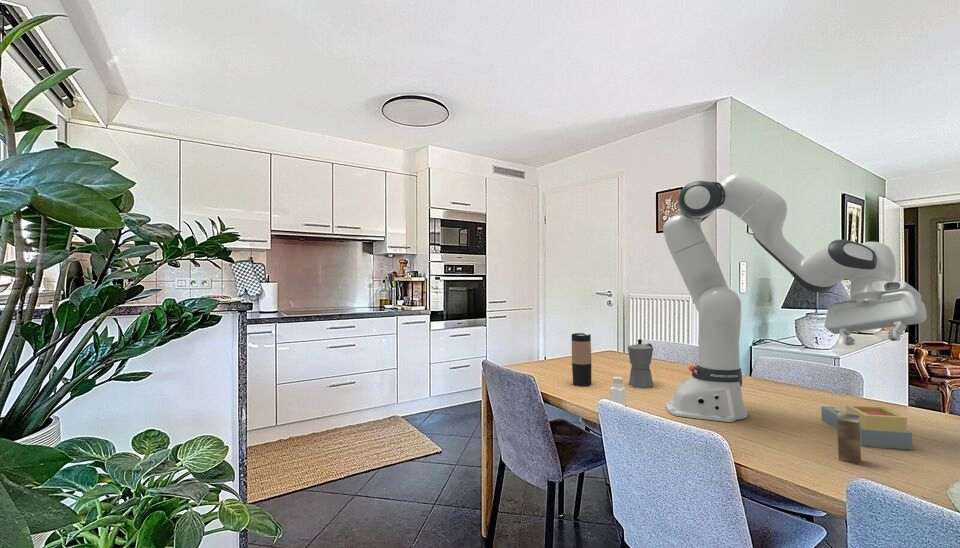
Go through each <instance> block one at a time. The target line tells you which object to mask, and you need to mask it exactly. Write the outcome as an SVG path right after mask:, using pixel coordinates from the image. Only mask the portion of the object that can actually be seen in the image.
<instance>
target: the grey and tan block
mask: <svg viewBox="0 0 960 548" xmlns="http://www.w3.org/2000/svg"><path fill="white" fill-rule="evenodd" d="M820 408H821V412H820V413H821V421H823V422H824V423H825V424H828V425H829V426H830V427H831V428H833V429H835V430H836V431H838V427H837V415H838V413H839V412H841V413H847V414H853V415H859V416H860V445H861V447H866V446H870V447H869V448H880V447H884V448H883V449H893V448H898V449H897V450H906V449H909V450H908V451H913V450H914V444H913V443H914V442H913V432H911V431H910V430H908V426H907V425H908V423H907V422H908V421H907V417H906V416H903V415H901V414H899V413H897V412H894V411H892V410H891V409H888V408H885V407H884V406H874V405H873V406H872V405H871V406H869V405H856V404H855V405H852V404H851V405H850V404H845V406H825V405H824V406H823V405H822V406H821V407H820ZM864 411H876V412H881V413H884V414H885V415H886V416H884V415H868V414H866V413H864Z"/></svg>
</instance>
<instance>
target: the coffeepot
mask: <svg viewBox="0 0 960 548" xmlns="http://www.w3.org/2000/svg"><path fill="white" fill-rule="evenodd" d="M642 342H643V340H642V339H641V338H640V339H637V344H631V345H628V346H627V350H628V357H629V362H630V363H629V364H631V369H630V375H629V381H628V385H629V386H630V385H632V386H634V387H633V388H637V387H642V388H641V389H649V388H648V387H650V388H652V386H653V387H654V382H653V381H654V380H653V376H652V372H651V371H652V370H651V368H650V366H651V363H652V358H653V351H654V347H653V345H652V344H651V343H646V344H645V343H644V344H642ZM632 386H631V387H632Z"/></svg>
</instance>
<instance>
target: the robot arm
mask: <svg viewBox="0 0 960 548" xmlns="http://www.w3.org/2000/svg"><path fill="white" fill-rule="evenodd" d="M677 197H678V198H677V202H678V203H677V204H678V209H679V210H678V213H676V215H674V216H673V215H672V216H671V217H670V218H669V219H667V220H666V222H665V223H664V224H663V227H662V231H663V236H664V239H665V243H666V246H667V247H668V251H669V252H670V254H671V257H672V259H673V261H674V263H675V265H676V267H677V269H678V271H679V273H680V275H681V277H682V280H683V282H684V285H685V286H686V288H687V291H688V292H689V295H690V297H691V300H692V302H693V304H694V306H695V308H696V310H697V312H698V337H697V338H698V339H697V342H698V343H697V344H698V349H697V350H698V364H697V365H696V366H695V365H694V364H689V365H688V367H687V368H688V370H689V372H691V377H690V378H689V379H686V380H685V381H684V382H682V383H681V384H679V385H677V387H676V388H675V389H674V391H673V396H672V400H668V401H667V402H666V403H665V409H666V411H667V412H668V413H669V414H671V415H673V416H676V417H683V418H689V419H690V418H692V419H699V420H707V421H717V422H724V423H733V422H735V421H736V420H742V419H745V418H747V417H748V415H749V414H748V412H747V410H746V405H745V402H744V398H743V392H742V387H743V372H742V368H741V366H740V365H741V364H740V335H741V325H742V324H741V322H742V321H741V320H742V302H741V299H740V297H739V295H738V294H737V293H736V291H734V290H732V289H730V288H729V286H728V284H727V281H726V279H725V277H724V274H723V271H722V269H721V267H720V263H719V261H718V259H717V257H716V256H715V253H714V252H713V251H714V250H713V249H712V247H711V245H710V243H709V242H708V240H707V238H706V236H705V234H704V232H703V228H702V226H701V224H702V222H703V221H705V220H706V219H708V218H709V217H710V216H711V215H712V214H713V213H714V211H716V210H720V209H721V210H726V211H728V212H729V213H731V214H733V215H735V217H737V218H738V219H740V220H741V221H743V222H744V223H745V224H746V225H747V226H748V227H749V229H750V230H751V232H752V236H753V239H755V241H756V242H757V244H758V245H760V247H761V248H762V249H764V250H765V251H766V252H767V253H768V254H769V255H770V256H771V257H772V258H773V259H774V260H776V261H777V262H778V263H779V264H780V265H781V266H782V267H783V268H785V270H786V271H787V272H789V274H790V275H791V276H792V277H793V278H794V280H795V282H797V284H798V285H799V286H800V287H801V288H803V289H805V290H807V291H810V292H812V293H817V294H818V293H819V294H820V293H821V294H822V293H826V292H828V291H830V290H831V289H833V288H834V287H835V286H836V285H838V283H840V282H842V281H844V280H848V281H849V282H850V289H849V290H850V294H849V300H844V301H841V302H840V301H839V302H835V303H833V304H832V305H831V306H828V307H827V313H826V316H825V319H824V327H825V329H826V330H827V331H828V332H830V333H831V334H832V335H839V334H840V335H841V336H842V338H843V343H844V345H846V346H847V347H849V346H850V347H851V346H854V345H855V342H856V339H854V338H853V337H852V336H851V333H854V332H855V333H856V332H862V331H863V332H864V331H870V330H877V329H878V330H879V329H884V328H885V329H887V328H893V327H894V328H893V329H892V331H888V332H887V335H888V336H887V338H888V339H889V340H890V341H891V342H896V341H901V335H902V334H903V333H904V331H906V329H907V326H909V325H917V324H923V323H924V322H925V321H926V320H927V317H928V316H927V309H926V305H925V303H924V302H923V300H922V295H921V294H920V292H919V291H918V290H917V289H915V288H914V286H912V285H910V284H909V283H907V282H906V281H894V280H895V278H896V275H897V274H896V273H897V271H896V270H897V269H896V259H895V256H894V252H893V251H892V250H891V248H890V247H889V246H888V245H886V244H884V243H882V242H879V241H865V242H862V243H858V242H857V241H852V240H848V239H835V240H833V241H831V242H830V243H828V244H826V245H825V246H824V247H822V248H821V249H819V251H817V252H816V253H815V254H813V255H812V256H810V257H806V256H805V255H803V254H802V253H801V252H800V251H799V250H798V249H796V248H795V247H794V246H793V244H791V243H790V242H789V241H787V240H786V238H785V236H784V234H783V227H784V223H785V221H786V218H787V214H788V207H787V206H788V205H787V203H786V202H787V201H786V200H785V199H784V197H782V196H781V195H780V194H779V193H778V192H776V191H774V190H773V189H771V188H769V186H767V185H765V184H763V183H761V182H760V181H758V180H756V179H753V178H751V177H750V176H747V175H743V173H734V174H731V175H728V176H727V177H725V178H724V179H723V180H722V181H720V182H718V181H707V180H696V181H692V182H689V183H688V184H686V185H684V187H682V189H681V190H680V191H679V194H678V196H677Z"/></svg>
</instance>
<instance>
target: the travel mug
mask: <svg viewBox="0 0 960 548" xmlns="http://www.w3.org/2000/svg"><path fill="white" fill-rule="evenodd" d="M591 341H592V338H591V334H586V333H583V332H576V333H571V370H572V371H571V372H572V384H573V386H576V385H578V386H577V387H590V386H592V342H591ZM589 385H590V386H589Z"/></svg>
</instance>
